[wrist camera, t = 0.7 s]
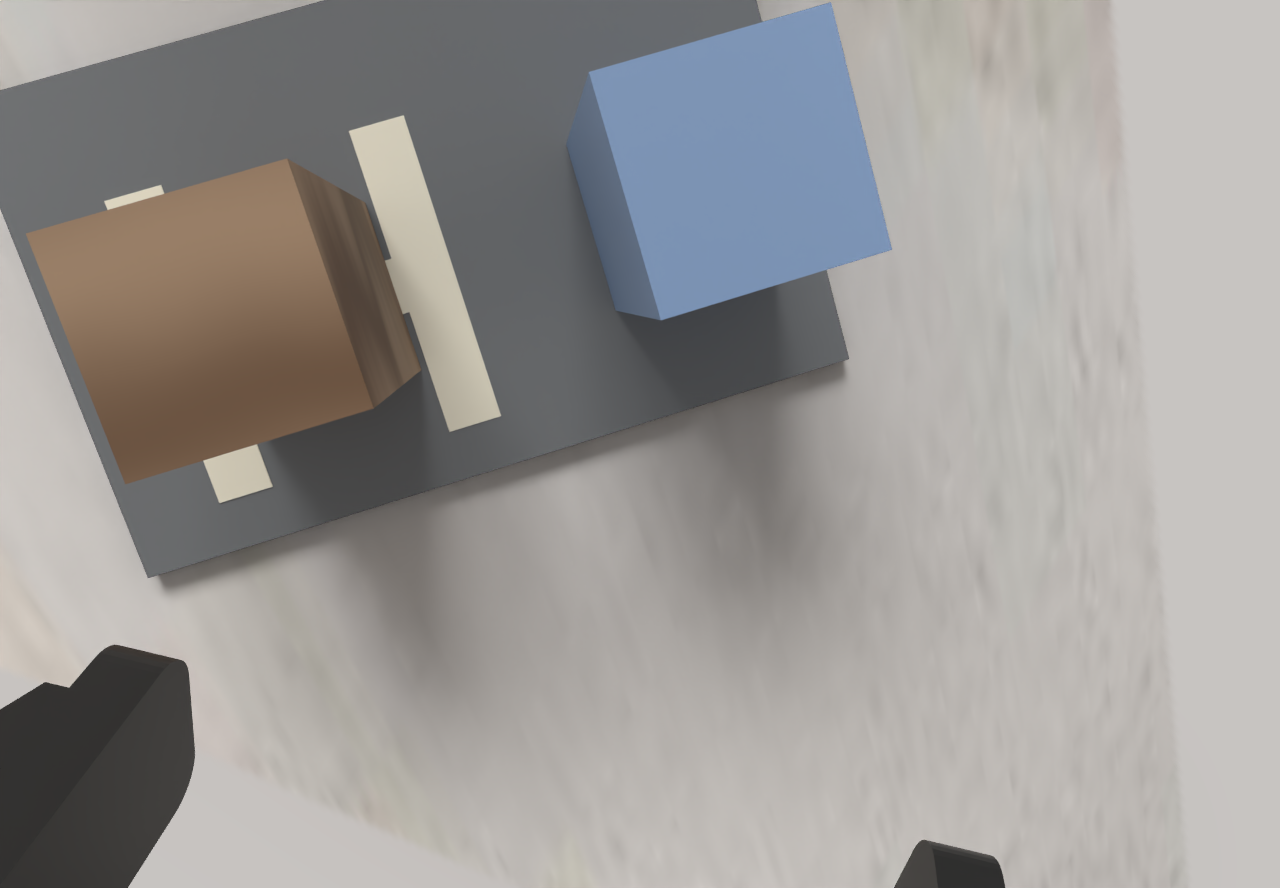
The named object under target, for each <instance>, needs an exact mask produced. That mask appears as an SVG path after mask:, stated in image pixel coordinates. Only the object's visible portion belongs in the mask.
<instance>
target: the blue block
mask: <svg viewBox="0 0 1280 888" xmlns="http://www.w3.org/2000/svg"><path fill="white" fill-rule="evenodd" d="M566 145H567V149H568V152H569V155H570V159H571V162H572V165H573V169H574V172H575V176H576V179H577V182H578V186H579V189H580V192H581V196H582V199H583V202H584V206H585V209H586V212H587V216H588V219H589V222H590V226H591V229H592V233H593V236H594V239H595V243H596V246H597V249H598V253H599V256H600V259H601V263H602V266H603V269H604V273H605V276H606V279H607V283H608V286H609V290H610V293H611V296H612V300H613V303H614V306H615V310H616V311H620V312H625V313H629V314H634V315H638V316H643V317H648V318H652V319H657V320H664V319H667V318H670V317H674V316H677V315H680V314H683V313H687V312H690V311H693V310H697V309H700V308H703V307H706V306H710V305H713V304H716V303H719V302H723V301H726V300H729V299H732V298H736V297H739V296H742V295H746V294H749V293H752V292H755V291H759V290H762V289H765V288H768V287H772V286H775V285H778V284H781V283H785V282H788V281H791V280H795V279H798V278H801V277H804V276H808V275H811V274H814V273H817V272H821V271H824V270H827V269H830V268H834V267H837V266H840V265H844V264H847V263H850V262H853V261H857V260H860V259H863V258H866V257H870V256H873V255H876V254H879V253H883V252H886V251H889V250H892V248H891V244H890V240H889V236H888V232H887V228H886V224H885V219H884V215H883V211H882V207H881V203H880V199H879V195H878V191H877V187H876V183H875V179H874V175H873V171H872V167H871V163H870V159H869V155H868V151H867V146H866V142H865V138H864V134H863V130H862V126H861V122H860V118H859V114H858V110H857V106H856V102H855V98H854V94H853V90H852V86H851V82H850V78H849V74H848V69H847V65H846V61H845V57H844V53H843V49H842V45H841V41H840V37H839V33H838V29H837V25H836V21H835V17H834V13H833V9H832V5H831V2H830V3H827V4H823V5H820V6H816V7H813V8H810V9H806V10H803V11H799V12H796V13H792V14H789V15H785V16H782V17H778V18H775V19H771V20H768V21H764V22H761V23H757V24H754V25H750V26H747V27H743V28H740V29H737V30H733V31H730V32H726V33H723V34H719V35H716V36H712V37H709V38H705V39H702V40H698V41H695V42H691V43H688V44H684V45H681V46H677V47H674V48H670V49H667V50H664V51H660V52H657V53H653V54H650V55H646V56H643V57H639V58H636V59H632V60H629V61H625V62H622V63H618V64H615V65H611V66H608V67H604V68H601V69H597V70H594V71H591V72H589V73H588V76H587V79H586V83H585V86H584V89H583V92H582V95H581V98H580V102H579V105H578V108H577V111H576V114H575V118H574V121H573V124H572V127H571V130H570V133H569V137H568V140H567V143H566Z"/></svg>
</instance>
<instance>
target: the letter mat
mask: <svg viewBox="0 0 1280 888" xmlns="http://www.w3.org/2000/svg"><path fill="white" fill-rule="evenodd" d="M761 22H762V21H761V17H760V13H759V9H758V5H757V1H756V0H324V1H320V2H317V3H313V4H309V5H306V6H302V7H299V8H295V9H291V10H288V11H284V12H281V13H277V14H273V15H270V16H266V17H263V18H259V19H255V20H252V21H248V22H245V23H241V24H237V25H234V26H230V27H227V28H223V29H219V30H216V31H212V32H209V33H205V34H201V35H198V36H194V37H191V38H187V39H183V40H180V41H176V42H173V43H169V44H165V45H162V46H158V47H155V48H151V49H147V50H144V51H140V52H137V53H133V54H129V55H126V56H122V57H119V58H115V59H111V60H108V61H104V62H101V63H97V64H93V65H90V66H86V67H83V68H79V69H75V70H72V71H68V72H65V73H61V74H57V75H54V76H50V77H47V78H43V79H39V80H36V81H32V82H29V83H25V84H21V85H18V86H14V87H11V88H7V89H3V90H0V209H1V212H2V214H3V217H4V219H5V222H6V224H7V227H8V229H9V232H10V234H11V237H12V239H13V242H14V244H15V247H16V249H17V252H18V254H19V257H20V259H21V262H22V264H23V267H24V269H25V272H26V274H27V277H28V279H29V282H30V284H31V287H32V289H33V292H34V294H35V297H36V299H37V302H38V304H39V307H40V309H41V312H42V314H43V317H44V319H45V322H46V324H47V327H48V329H49V332H50V334H51V337H52V339H53V342H54V344H55V347H56V349H57V352H58V354H59V357H60V359H61V362H62V364H63V367H64V369H65V372H66V374H67V377H68V379H69V382H70V384H71V387H72V389H73V392H74V394H75V397H76V399H77V402H78V404H79V407H80V409H81V412H82V414H83V417H84V419H85V422H86V424H87V427H88V429H89V432H90V434H91V437H92V439H93V442H94V444H95V447H96V449H97V452H98V454H99V457H100V459H101V462H102V464H103V467H104V469H105V472H106V474H107V477H108V479H109V482H110V484H111V487H112V489H113V492H114V494H115V497H116V499H117V502H118V504H119V507H120V509H121V512H122V514H123V517H124V519H125V522H126V524H127V527H128V529H129V532H130V534H131V537H132V539H133V542H134V544H135V547H136V549H137V552H138V554H139V557H140V559H141V562H142V564H143V567H144V569H145V572H146V574H147V577H148V578H150V577H154V576H157V575H160V574H163V573H166V572H170V571H173V570H176V569H179V568H182V567H186V566H189V565H192V564H195V563H198V562H202V561H205V560H208V559H211V558H214V557H218V556H221V555H224V554H227V553H230V552H233V551H237V550H240V549H243V548H246V547H249V546H253V545H256V544H259V543H262V542H265V541H269V540H272V539H275V538H278V537H281V536H285V535H288V534H291V533H294V532H297V531H301V530H304V529H307V528H310V527H313V526H317V525H320V524H323V523H326V522H329V521H333V520H336V519H339V518H342V517H345V516H349V515H352V514H355V513H358V512H361V511H365V510H368V509H371V508H374V507H377V506H381V505H384V504H387V503H390V502H393V501H397V500H400V499H403V498H406V497H409V496H413V495H416V494H419V493H422V492H425V491H429V490H432V489H435V488H438V487H441V486H445V485H448V484H451V483H454V482H457V481H461V480H464V479H467V478H470V477H473V476H477V475H480V474H483V473H486V472H489V471H493V470H496V469H499V468H502V467H505V466H509V465H512V464H515V463H518V462H521V461H525V460H528V459H531V458H534V457H537V456H540V455H544V454H547V453H550V452H553V451H556V450H560V449H563V448H566V447H569V446H572V445H576V444H579V443H582V442H585V441H588V440H592V439H595V438H598V437H601V436H604V435H608V434H611V433H614V432H617V431H620V430H624V429H627V428H630V427H633V426H636V425H640V424H643V423H646V422H649V421H652V420H656V419H659V418H662V417H665V416H668V415H672V414H675V413H678V412H681V411H684V410H688V409H691V408H694V407H697V406H700V405H704V404H707V403H710V402H713V401H716V400H720V399H723V398H726V397H729V396H732V395H736V394H739V393H742V392H745V391H748V390H752V389H755V388H758V387H761V386H764V385H768V384H771V383H774V382H777V381H780V380H784V379H787V378H790V377H793V376H796V375H800V374H803V373H806V372H809V371H812V370H816V369H819V368H822V367H825V366H828V365H832V364H835V363H838V362H841V361H844V360H847V359H849V356H848V352H847V349H846V345H845V341H844V337H843V333H842V329H841V325H840V322H839V318H838V314H837V310H836V306H835V302H834V298H833V295H832V291H831V287H830V283H829V279H828V275H827V271H826V270H824V271H821V272H817V273H814V274H811V275H808V276H804V277H801V278H798V279H795V280H791V281H788V282H785V283H781V284H778V285H775V286H772V287H768V288H765V289H762V290H759V291H755V292H752V293H749V294H746V295H742V296H739V297H736V298H732V299H729V300H726V301H723V302H719V303H716V304H713V305H710V306H706V307H703V308H700V309H697V310H693V311H690V312H687V313H683V314H680V315H677V316H674V317H670V318H667V319H664V320H657V319H652V318H648V317H643V316H638V315H634V314H629V313H625V312H620V311H616V310H615V306H614V303H613V300H612V296H611V293H610V290H609V286H608V283H607V279H606V276H605V273H604V269H603V266H602V263H601V259H600V256H599V253H598V249H597V246H596V243H595V239H594V236H593V233H592V229H591V226H590V222H589V219H588V216H587V212H586V209H585V206H584V202H583V199H582V196H581V192H580V189H579V186H578V182H577V179H576V176H575V172H574V169H573V165H572V162H571V159H570V155H569V152H568V149H567V145H566V143H567V140H568V137H569V133H570V130H571V127H572V124H573V121H574V118H575V114H576V111H577V108H578V105H579V102H580V98H581V95H582V92H583V89H584V86H585V83H586V79H587V76H588V73H589V72H591V71H594V70H597V69H601V68H604V67H608V66H611V65H615V64H618V63H622V62H625V61H629V60H632V59H636V58H639V57H643V56H646V55H650V54H653V53H657V52H660V51H664V50H667V49H670V48H674V47H677V46H681V45H684V44H688V43H691V42H695V41H698V40H702V39H705V38H709V37H712V36H716V35H719V34H723V33H726V32H730V31H733V30H737V29H740V28H743V27H747V26H750V25H754V24H757V23H761ZM283 159H289V160H291V161H292V162H294V163H296V164H298V165H299V166H301V167H303V168H305V169H307V170H308V171H310V172H312V173H314V174H315V175H317V176H319V177H321V178H322V179H324V180H326V181H328V182H330V183H331V184H333V185H335V186H337V187H338V188H340V189H342V190H344V191H346V192H347V193H349V194H351V195H353V196H354V197H356V198H358V199H360V200H361V201H363V202H365V203H366V206H367V209H368V212H369V215H370V218H371V221H372V224H373V227H374V230H375V233H376V236H377V239H378V242H379V245H380V248H381V251H382V254H383V257H384V260H385V263H386V266H387V269H388V272H389V275H390V278H391V281H392V284H393V287H394V290H395V293H396V295H397V298H398V301H399V304H400V307H401V310H402V313H403V316H404V319H405V322H406V325H407V328H408V331H409V334H410V337H411V340H412V343H413V346H414V349H415V352H416V355H417V358H418V361H419V364H420V367H421V371H419V372H418V373H417V374H416V375H414V376H413V377H412V378H411V379H410V380H408V381H407V382H406V383H405V384H403V385H402V386H401V387H400V388H398V389H397V390H396V391H395V392H393V393H392V394H391V395H390V396H388V397H387V398H386V399H385V400H384V401H382V402H381V403H380V404H379V405H377V406H376V407H375V408H374V409H370V410H367V411H364V412H360V413H357V414H354V415H351V416H347V417H344V418H341V419H338V420H334V421H331V422H328V423H325V424H321V425H318V426H315V427H311V428H308V429H305V430H302V431H298V432H295V433H292V434H289V435H285V436H282V437H279V438H275V439H272V440H269V441H266V442H262V443H259V444H256V445H253V446H249V447H246V448H243V449H240V450H236V451H233V452H230V453H226V454H223V455H220V456H217V457H213V458H210V459H207V460H204V461H200V462H197V463H194V464H191V465H187V466H184V467H181V468H177V469H174V470H171V471H168V472H164V473H161V474H158V475H155V476H151V477H148V478H145V479H142V480H138V481H135V482H132V483H128V484H125V482H124V480H123V477H122V475H121V472H120V470H119V467H118V465H117V462H116V460H115V457H114V455H113V452H112V450H111V447H110V445H109V442H108V440H107V437H106V435H105V432H104V430H103V427H102V425H101V422H100V420H99V417H98V415H97V412H96V409H95V407H94V404H93V402H92V399H91V397H90V394H89V392H88V389H87V387H86V384H85V382H84V379H83V377H82V374H81V372H80V369H79V367H78V364H77V362H76V359H75V357H74V354H73V352H72V349H71V347H70V344H69V342H68V339H67V336H66V334H65V331H64V329H63V326H62V324H61V321H60V319H59V316H58V314H57V311H56V309H55V306H54V304H53V301H52V299H51V296H50V294H49V291H48V289H47V286H46V284H45V281H44V279H43V276H42V274H41V271H40V269H39V266H38V264H37V261H36V258H35V256H34V253H33V251H32V248H31V246H30V243H29V241H28V238H27V236H26V233H29V232H33V231H36V230H40V229H43V228H47V227H50V226H54V225H57V224H61V223H64V222H68V221H71V220H75V219H78V218H82V217H85V216H89V215H92V214H96V213H99V212H102V211H106V210H109V209H113V208H116V207H120V206H123V205H127V204H130V203H134V202H137V201H141V200H144V199H148V198H151V197H155V196H158V195H162V194H165V193H169V192H172V191H175V190H179V189H182V188H186V187H189V186H193V185H196V184H200V183H203V182H207V181H210V180H214V179H217V178H221V177H224V176H228V175H231V174H235V173H238V172H242V171H245V170H248V169H252V168H255V167H259V166H262V165H266V164H269V163H273V162H276V161H280V160H283Z"/></svg>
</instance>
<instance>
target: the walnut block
mask: <svg viewBox="0 0 1280 888" xmlns="http://www.w3.org/2000/svg"><path fill="white" fill-rule="evenodd" d="M26 236H27V238H28V241H29V243H30V246H31V248H32V251H33V253H34V256H35V258H36V261H37V264H38V266H39V269H40V271H41V274H42V276H43V279H44V281H45V284H46V286H47V289H48V291H49V294H50V296H51V299H52V301H53V304H54V306H55V309H56V311H57V314H58V316H59V319H60V321H61V324H62V326H63V329H64V331H65V334H66V336H67V339H68V342H69V344H70V347H71V349H72V352H73V354H74V357H75V359H76V362H77V364H78V367H79V369H80V372H81V374H82V377H83V379H84V382H85V384H86V387H87V389H88V392H89V394H90V397H91V399H92V402H93V404H94V407H95V409H96V412H97V415H98V417H99V420H100V422H101V425H102V427H103V430H104V432H105V435H106V437H107V440H108V442H109V445H110V447H111V450H112V452H113V455H114V457H115V460H116V462H117V465H118V467H119V470H120V472H121V475H122V477H123V480H124V482H125V484H128V483H132V482H135V481H138V480H142V479H145V478H148V477H151V476H155V475H158V474H161V473H164V472H168V471H171V470H174V469H177V468H181V467H184V466H187V465H191V464H194V463H197V462H200V461H204V460H207V459H210V458H213V457H217V456H220V455H223V454H226V453H230V452H233V451H236V450H240V449H243V448H246V447H249V446H253V445H256V444H259V443H262V442H266V441H269V440H272V439H275V438H279V437H282V436H285V435H289V434H292V433H295V432H298V431H302V430H305V429H308V428H311V427H315V426H318V425H321V424H325V423H328V422H331V421H334V420H338V419H341V418H344V417H347V416H351V415H354V414H357V413H360V412H364V411H367V410H370V409H374V408H375V407H376V406H377V405H379V404H380V403H381V402H382V401H384V400H385V399H386V398H387V397H388V396H390V395H391V394H392V393H393V392H395V391H396V390H397V389H398V388H400V387H401V386H402V385H403V384H405V383H406V382H407V381H408V380H410V379H411V378H412V377H413V376H414V375H416V374H417V373H418V372H419V371H421V367H420V364H419V361H418V358H417V355H416V352H415V349H414V346H413V343H412V340H411V337H410V334H409V331H408V328H407V325H406V322H405V319H404V316H403V313H402V310H401V307H400V304H399V301H398V298H397V295H396V293H395V290H394V287H393V284H392V281H391V278H390V275H389V272H388V269H387V266H386V263H385V260H384V257H383V254H382V251H381V248H380V245H379V242H378V239H377V236H376V233H375V230H374V227H373V224H372V221H371V218H370V215H369V212H368V209H367V206H366V203H365V202H363V201H361V200H360V199H358V198H356V197H354V196H353V195H351V194H349V193H347V192H346V191H344V190H342V189H340V188H338V187H337V186H335V185H333V184H331V183H330V182H328V181H326V180H324V179H322V178H321V177H319V176H317V175H315V174H314V173H312V172H310V171H308V170H307V169H305V168H303V167H301V166H299V165H298V164H296V163H294V162H292V161H291V160H289V159H283V160H280V161H276V162H273V163H269V164H266V165H262V166H259V167H255V168H252V169H248V170H245V171H242V172H238V173H235V174H231V175H228V176H224V177H221V178H217V179H214V180H210V181H207V182H203V183H200V184H196V185H193V186H189V187H186V188H182V189H179V190H175V191H172V192H169V193H165V194H162V195H158V196H155V197H151V198H148V199H144V200H141V201H137V202H134V203H130V204H127V205H123V206H120V207H116V208H113V209H109V210H106V211H102V212H99V213H96V214H92V215H89V216H85V217H82V218H78V219H75V220H71V221H68V222H64V223H61V224H57V225H54V226H50V227H47V228H43V229H40V230H36V231H33V232H29V233H26Z"/></svg>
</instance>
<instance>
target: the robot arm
mask: <svg viewBox="0 0 1280 888" xmlns="http://www.w3.org/2000/svg"><path fill="white" fill-rule="evenodd" d="M194 759H195V747H194V734H193V721H192V708H191V696H190V683H189V672H188V668H187V665H186V663H185V662H184V661H182V660H178V659H174V658H170V657H166V656H162V655H157V654H153V653H149V652H145V651H141V650H136V649H132V648H128V647H124V646H120V645H112V646H109V647H107V648H105V649H104V650H103V651H101V652H100V653H99V654H98V655H97V656H96V657H95V658H94V660H93V661H92V662H91V663H90V664H89V665H88V667H87V668H86V669H85V670H84V671H83V672H82V674H81V675H80V676H79V677H78V678H77V679H76V681H75V682H74V683H73V684H72V685H71V687H70V688H67V687H63V686H59V685H55V684H51V683H46V682H45V683H43V684H41V685H40V686H38V687H36V688H35V689H33V690H32V691H30V692H28V693H27V694H25V695H23V696H22V697H20V698H19V699H17V700H15V701H14V702H12V703H10V704H9V705H7V706H5V707H4V708H2V709H1V710H0V888H128V886H129V885H130V883H131V882H132V880H133V879H134V877H135V875H136V874H137V872H138V871H139V869H140V868H141V866H142V864H143V863H144V861H145V860H146V858H147V857H148V855H149V853H150V852H151V850H152V849H153V847H154V846H155V844H156V843H157V841H158V839H159V838H160V836H161V835H162V833H163V832H164V830H165V828H166V827H167V825H168V824H169V822H170V820H171V819H172V817H173V816H174V814H175V813H176V811H177V809H178V807H179V805H180V804H181V802H182V799H183V797H184V795H185V793H186V790H187V787H188V784H189V781H190V778H191V775H192V771H193V766H194ZM894 888H1005V884H1004V879H1003V874H1002V870H1001V868H1000V865H999V863H998V861H997V860H996V859H995V858H994V857H993V856H990V855H986V854H982V853H978V852H974V851H969V850H965V849H961V848H957V847H953V846H948V845H944V844H940V843H936V842H931V841H927V840H922V841H920V842H919V843H918V844H917V845H916V847H915V848H914V850H913V852H912V854H911V856H910V858H909V860H908V862H907V864H906V866H905V868H904V870H903V871H902V873H901V875H900V877H899V879H898V881H897V883H896V885H895V887H894Z"/></svg>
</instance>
